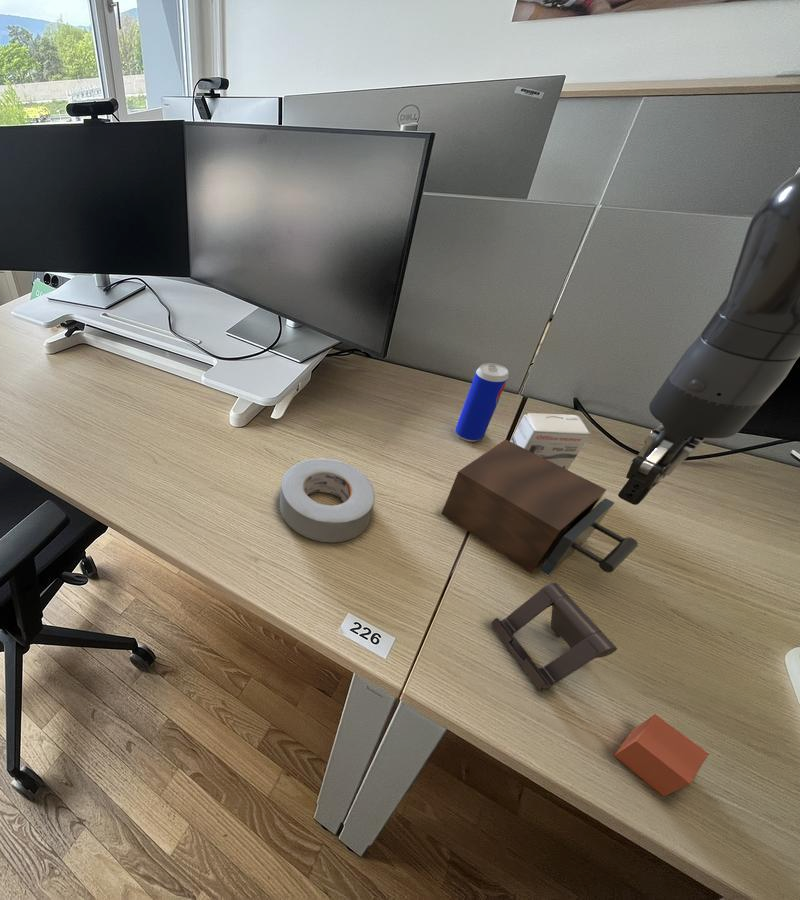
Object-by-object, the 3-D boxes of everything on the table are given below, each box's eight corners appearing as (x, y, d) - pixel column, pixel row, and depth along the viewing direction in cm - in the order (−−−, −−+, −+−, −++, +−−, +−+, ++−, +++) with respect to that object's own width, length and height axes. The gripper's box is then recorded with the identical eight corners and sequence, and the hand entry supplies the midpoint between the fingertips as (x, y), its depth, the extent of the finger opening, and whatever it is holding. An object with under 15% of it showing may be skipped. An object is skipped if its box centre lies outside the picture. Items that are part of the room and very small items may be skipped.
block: (682, 767, 49) (709, 753, 46) (663, 796, 47) (690, 784, 45) (632, 729, 52) (655, 713, 49) (613, 755, 50) (635, 740, 47)
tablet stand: (487, 625, 62) (510, 590, 57) (539, 613, 63) (566, 577, 58) (536, 691, 56) (566, 659, 50) (593, 677, 57) (630, 643, 51)
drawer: (626, 559, 68) (657, 524, 63) (586, 601, 63) (615, 566, 58) (501, 488, 80) (519, 453, 75) (460, 518, 75) (476, 484, 70)
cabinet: (575, 533, 73) (606, 489, 67) (531, 573, 68) (560, 530, 62) (486, 481, 83) (505, 439, 76) (441, 513, 78) (458, 471, 71)
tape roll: (374, 488, 83) (380, 467, 80) (364, 553, 73) (369, 532, 69) (290, 470, 88) (292, 450, 85) (269, 529, 78) (270, 508, 74)
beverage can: (484, 444, 90) (513, 378, 81) (455, 441, 92) (480, 375, 82) (480, 428, 94) (507, 363, 84) (453, 425, 95) (476, 361, 86)
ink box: (507, 482, 82) (533, 429, 75) (498, 463, 86) (522, 411, 78) (561, 485, 81) (594, 432, 73) (549, 466, 85) (579, 413, 77)
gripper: (742, 424, 43) (639, 542, 54) (790, 376, 48) (687, 492, 59) (645, 390, 48) (570, 504, 59) (698, 349, 53) (620, 462, 64)
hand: (629, 498), depth 59 cm, fingers closed
